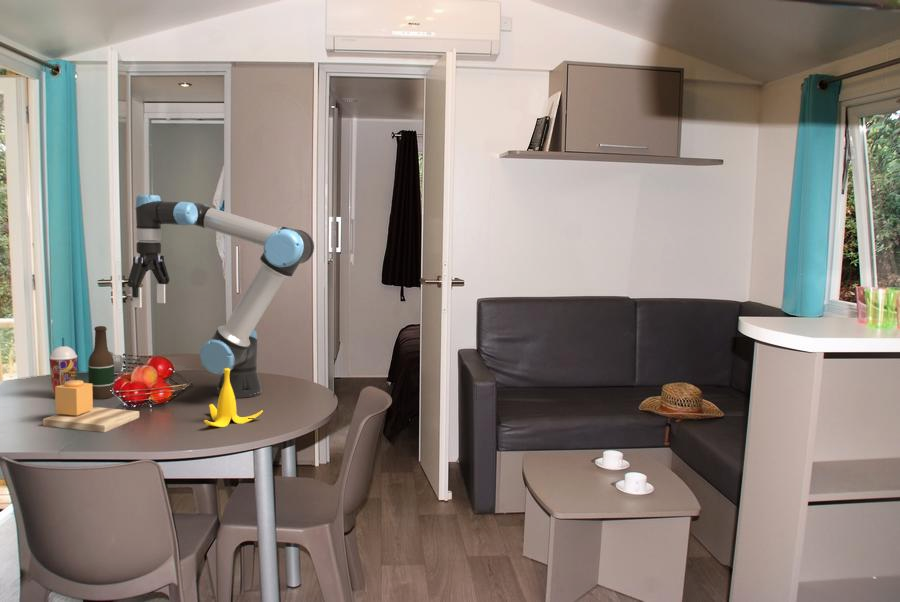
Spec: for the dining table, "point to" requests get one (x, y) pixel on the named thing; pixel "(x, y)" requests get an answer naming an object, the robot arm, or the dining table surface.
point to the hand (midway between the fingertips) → (149, 305)
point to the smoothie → (63, 365)
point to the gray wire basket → (122, 362)
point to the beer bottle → (101, 366)
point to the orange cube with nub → (73, 397)
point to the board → (93, 419)
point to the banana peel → (226, 406)
